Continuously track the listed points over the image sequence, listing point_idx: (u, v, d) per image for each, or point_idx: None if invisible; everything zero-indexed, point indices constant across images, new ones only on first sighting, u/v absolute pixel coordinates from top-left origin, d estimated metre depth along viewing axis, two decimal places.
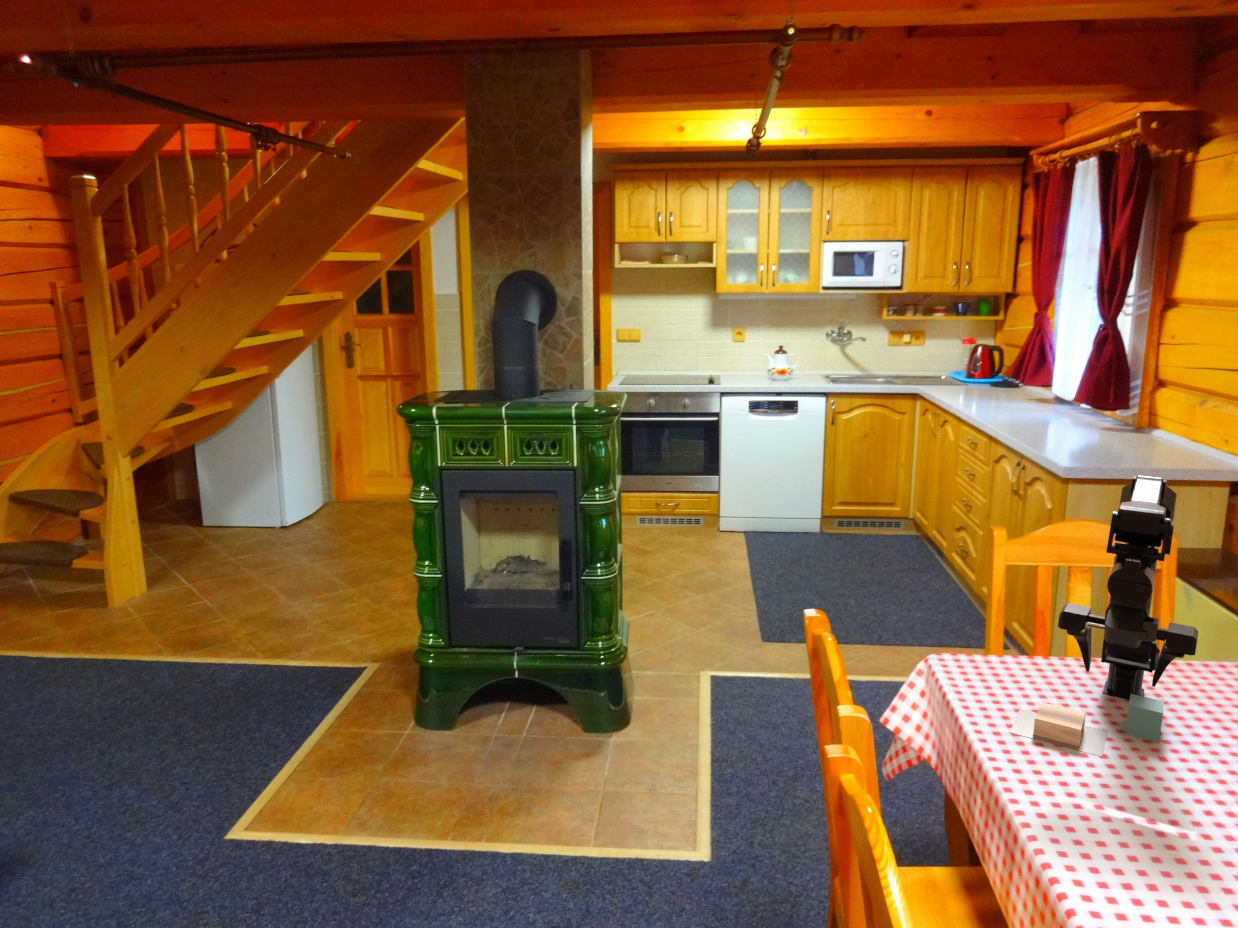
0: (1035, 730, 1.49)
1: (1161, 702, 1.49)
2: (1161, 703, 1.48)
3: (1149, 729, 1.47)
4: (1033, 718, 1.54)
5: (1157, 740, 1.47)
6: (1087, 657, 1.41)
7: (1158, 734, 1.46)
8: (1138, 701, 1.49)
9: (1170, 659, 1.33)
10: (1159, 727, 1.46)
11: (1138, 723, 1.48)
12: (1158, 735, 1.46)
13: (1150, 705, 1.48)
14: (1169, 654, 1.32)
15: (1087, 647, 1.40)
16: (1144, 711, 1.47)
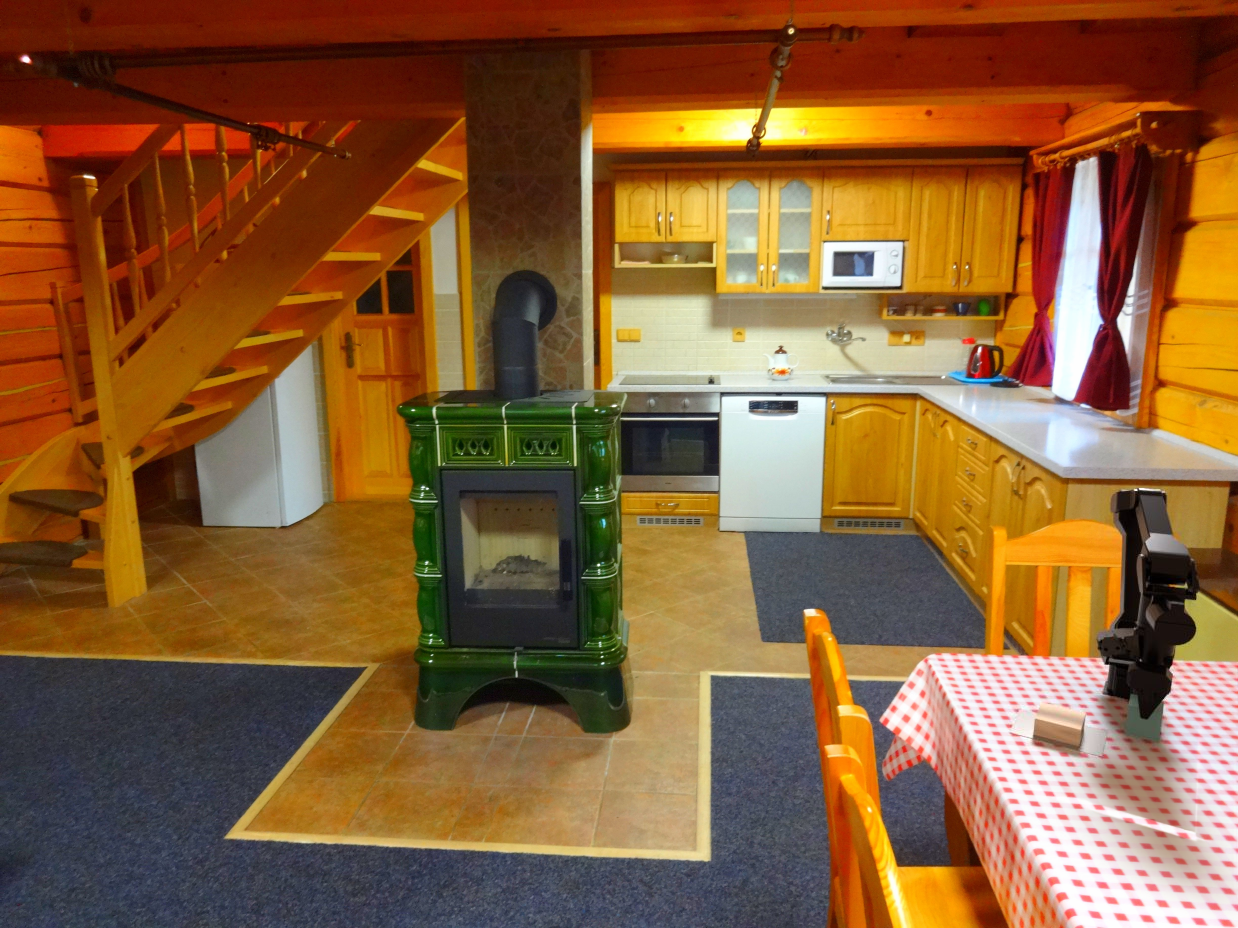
0: (1035, 730, 1.49)
1: (1161, 702, 1.49)
2: (1161, 703, 1.48)
3: (1149, 729, 1.47)
4: (1033, 718, 1.54)
5: (1157, 740, 1.47)
6: None
7: (1158, 734, 1.46)
8: None
9: (1134, 689, 1.44)
10: (1159, 727, 1.46)
11: (1138, 723, 1.48)
12: (1158, 735, 1.46)
13: None
14: None
15: None
16: None
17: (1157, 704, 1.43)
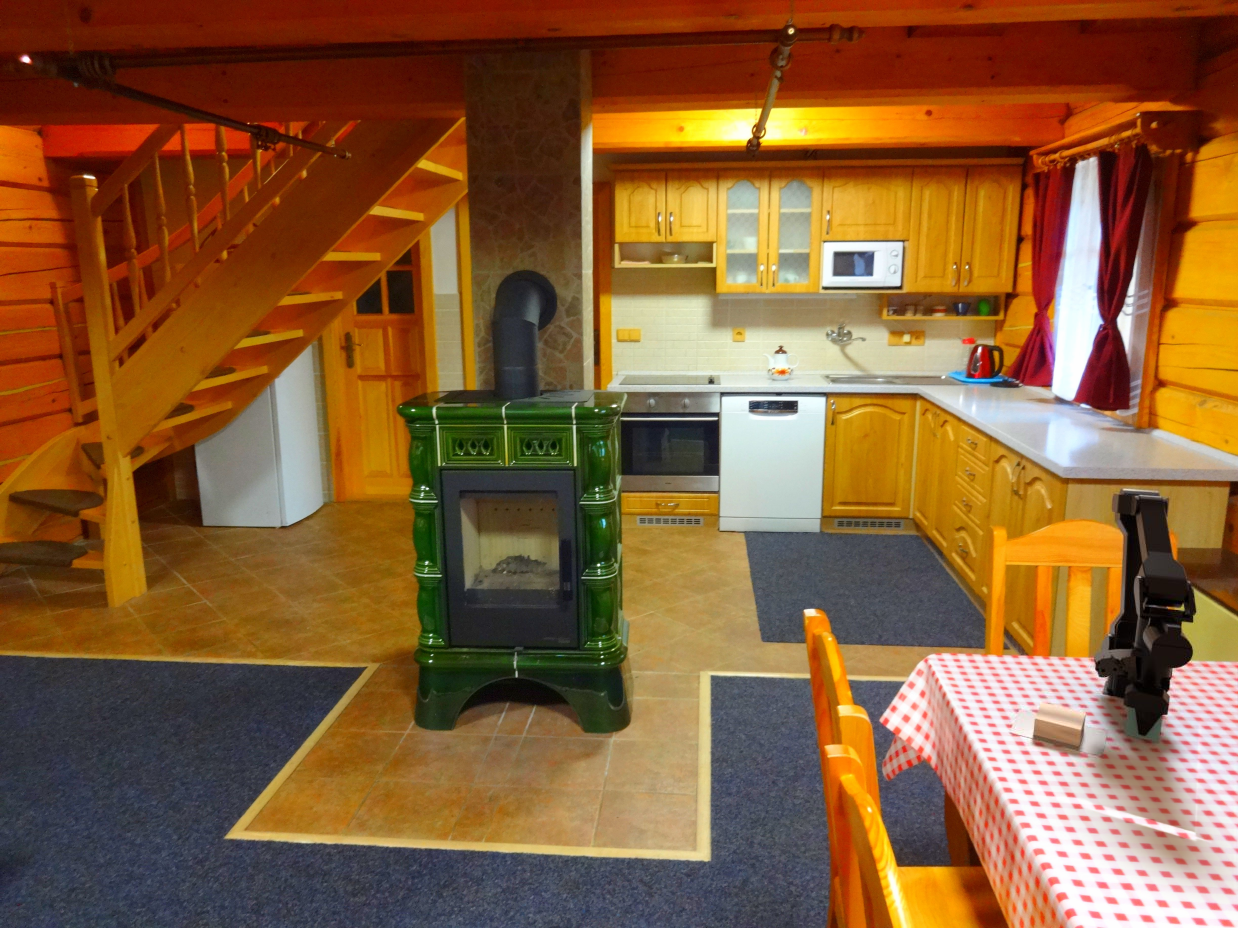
0: (1035, 730, 1.49)
1: None
2: None
3: None
4: (1033, 718, 1.54)
5: (1157, 740, 1.47)
6: None
7: (1158, 734, 1.46)
8: None
9: None
10: (1159, 727, 1.46)
11: None
12: (1158, 735, 1.46)
13: None
14: None
15: None
16: None
17: (1155, 721, 1.45)
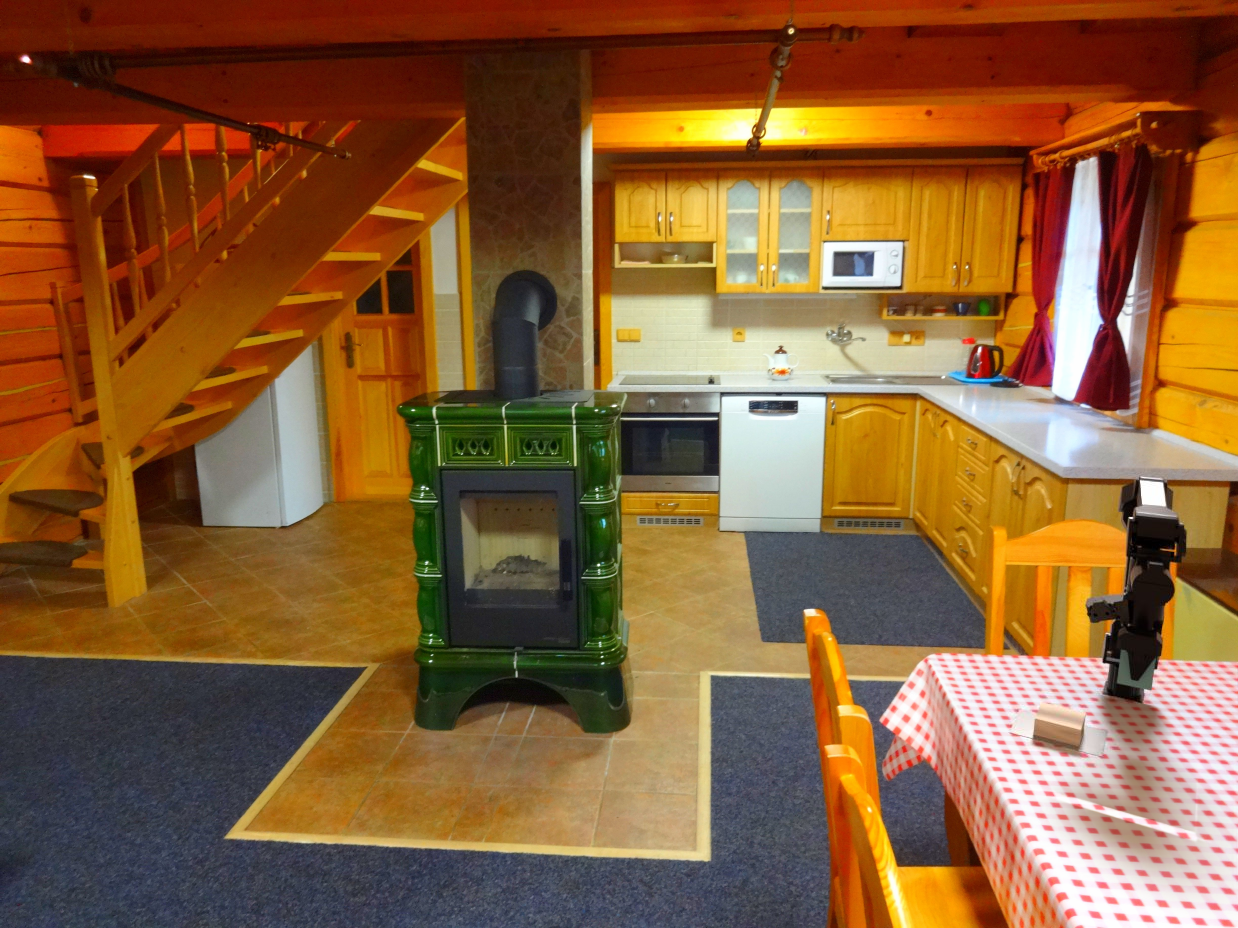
0: (1035, 730, 1.49)
1: None
2: None
3: None
4: (1033, 718, 1.54)
5: (1150, 684, 1.44)
6: None
7: (1151, 678, 1.44)
8: None
9: (1125, 650, 1.44)
10: (1152, 671, 1.44)
11: None
12: (1151, 679, 1.44)
13: None
14: None
15: None
16: None
17: (1148, 665, 1.43)
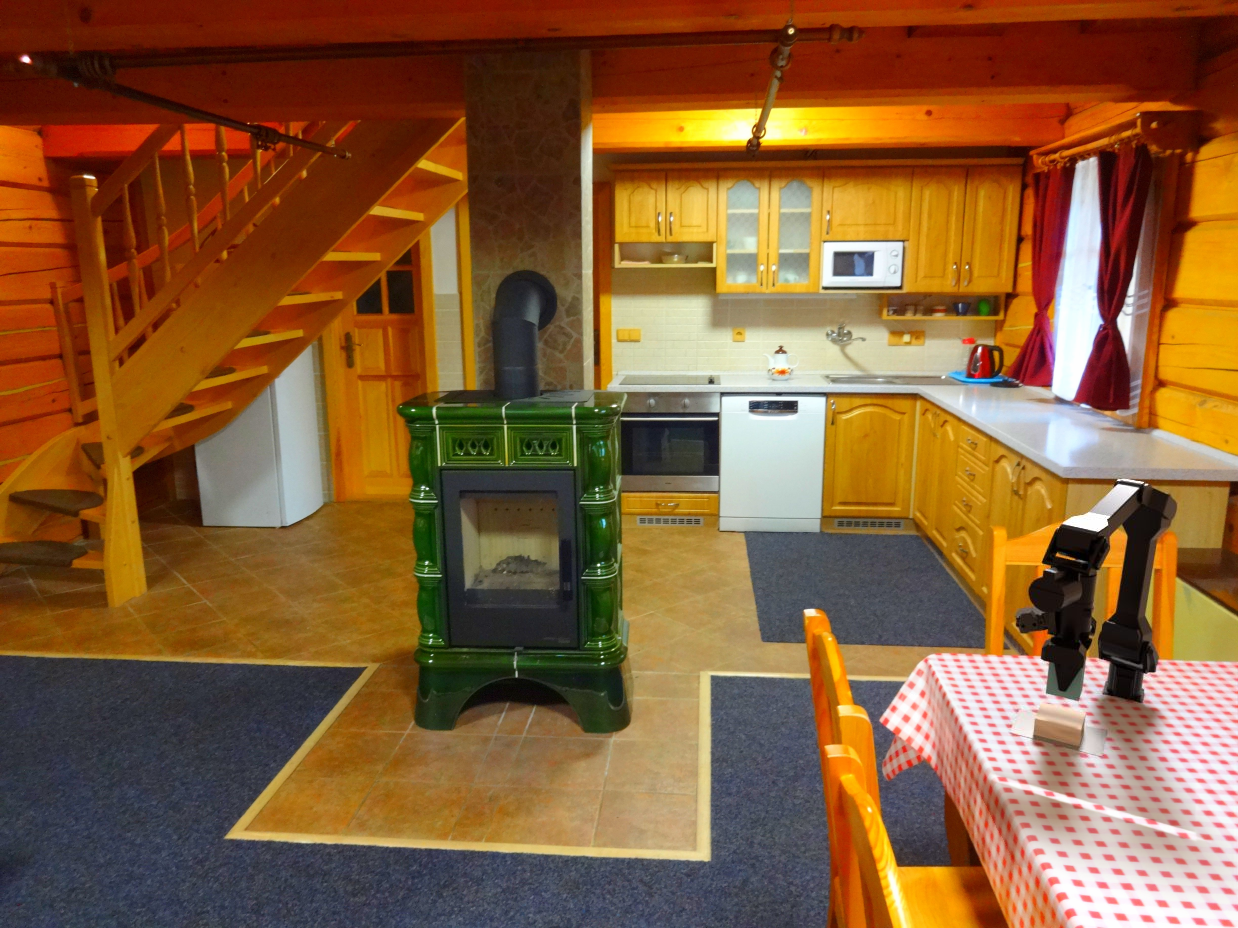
0: (1035, 730, 1.49)
1: None
2: None
3: (1070, 685, 1.45)
4: (1033, 718, 1.54)
5: (1077, 695, 1.45)
6: None
7: (1078, 689, 1.45)
8: None
9: None
10: (1079, 682, 1.44)
11: None
12: (1078, 690, 1.45)
13: None
14: None
15: None
16: None
17: (1074, 676, 1.43)
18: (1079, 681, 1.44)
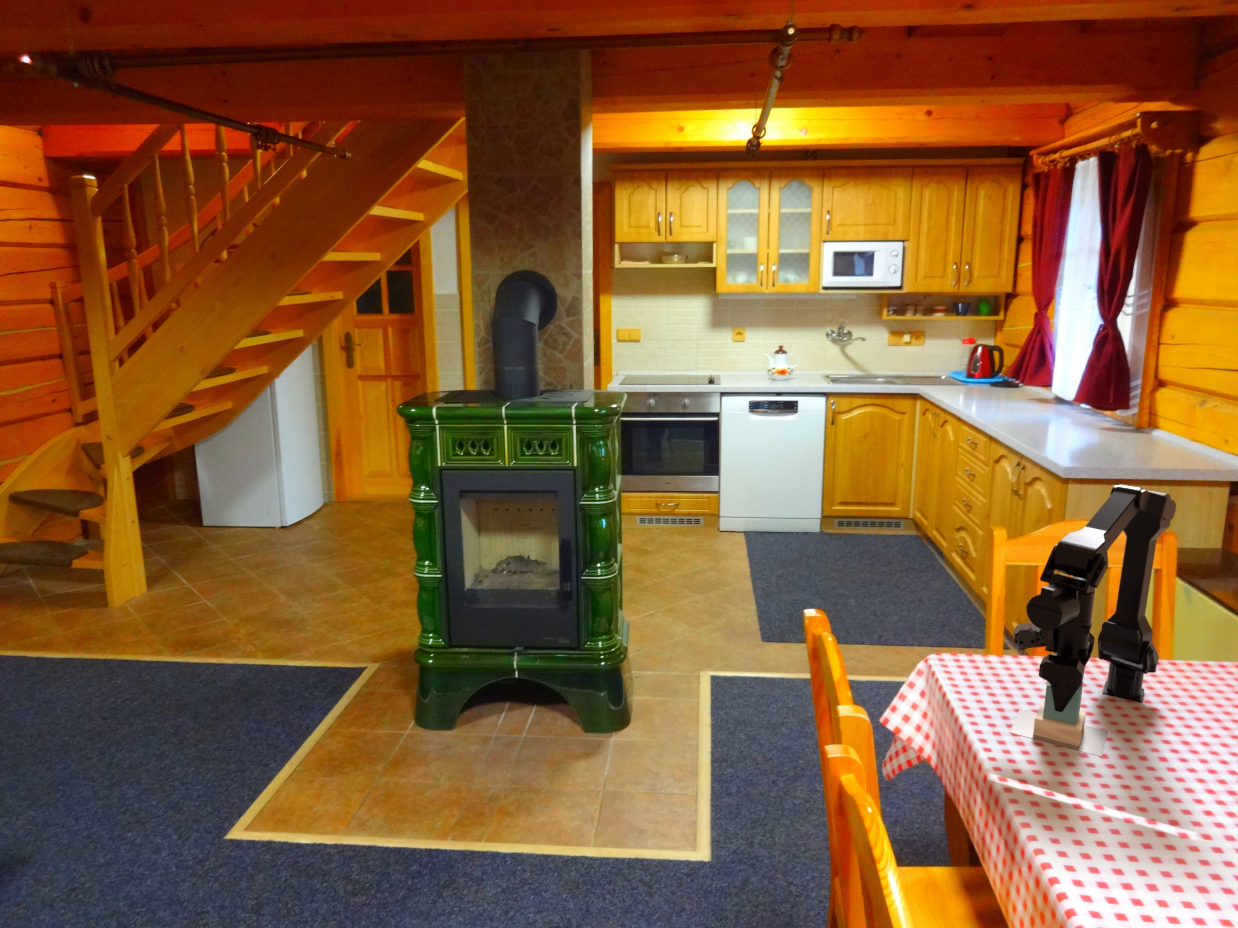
0: (1035, 730, 1.49)
1: None
2: None
3: (1067, 709, 1.46)
4: (1033, 718, 1.54)
5: (1074, 720, 1.46)
6: None
7: (1075, 714, 1.46)
8: None
9: (1048, 681, 1.44)
10: (1076, 707, 1.45)
11: None
12: (1075, 715, 1.46)
13: None
14: None
15: None
16: None
17: (1070, 696, 1.43)
18: (1076, 706, 1.45)
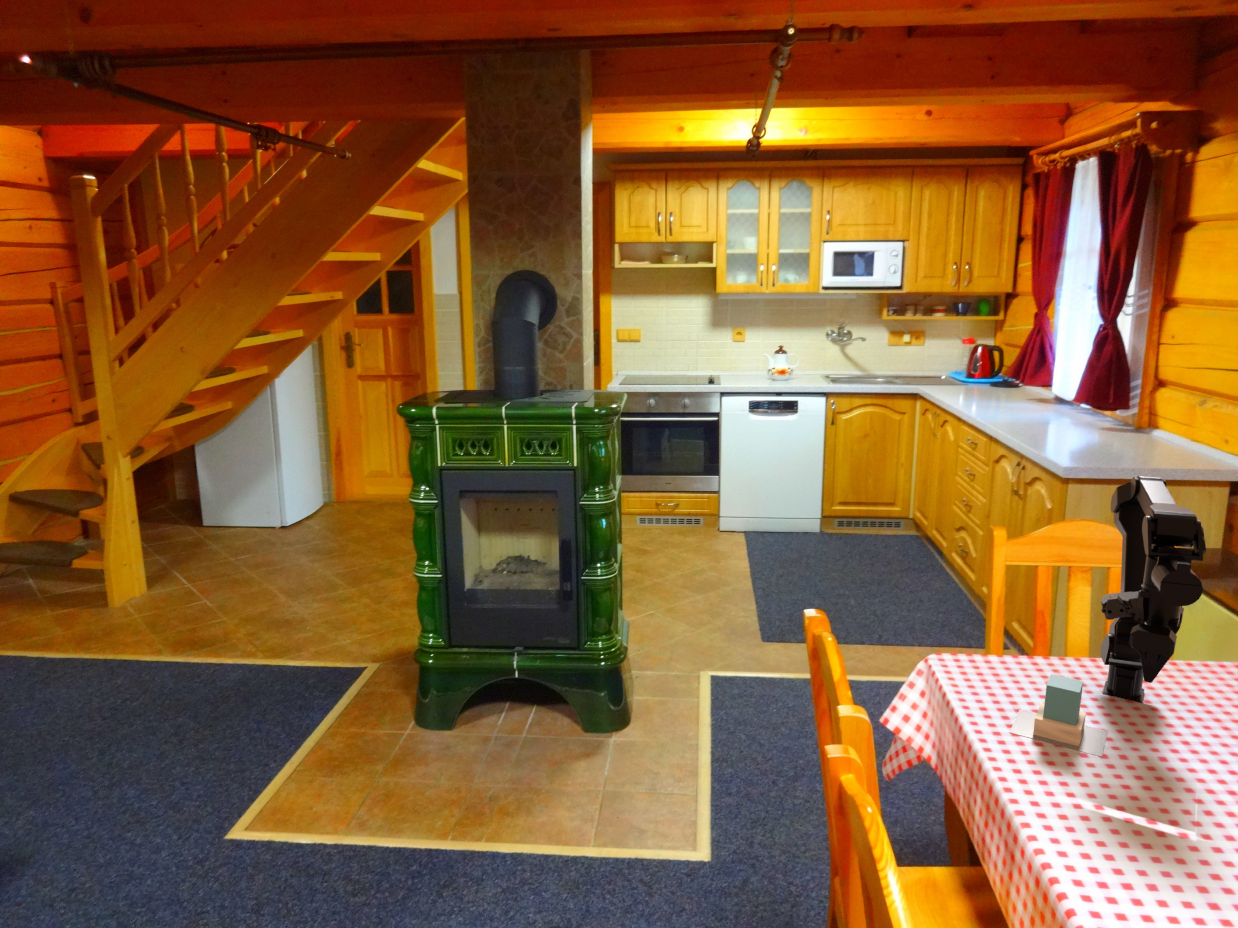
0: (1035, 730, 1.49)
1: (1080, 682, 1.48)
2: (1080, 683, 1.48)
3: (1067, 709, 1.46)
4: (1033, 718, 1.54)
5: (1074, 720, 1.46)
6: None
7: (1075, 714, 1.46)
8: (1057, 681, 1.49)
9: (1138, 651, 1.42)
10: (1076, 707, 1.45)
11: (1056, 703, 1.47)
12: (1075, 715, 1.46)
13: (1069, 685, 1.47)
14: None
15: None
16: (1061, 691, 1.46)
17: (1161, 667, 1.41)
18: (1076, 706, 1.45)
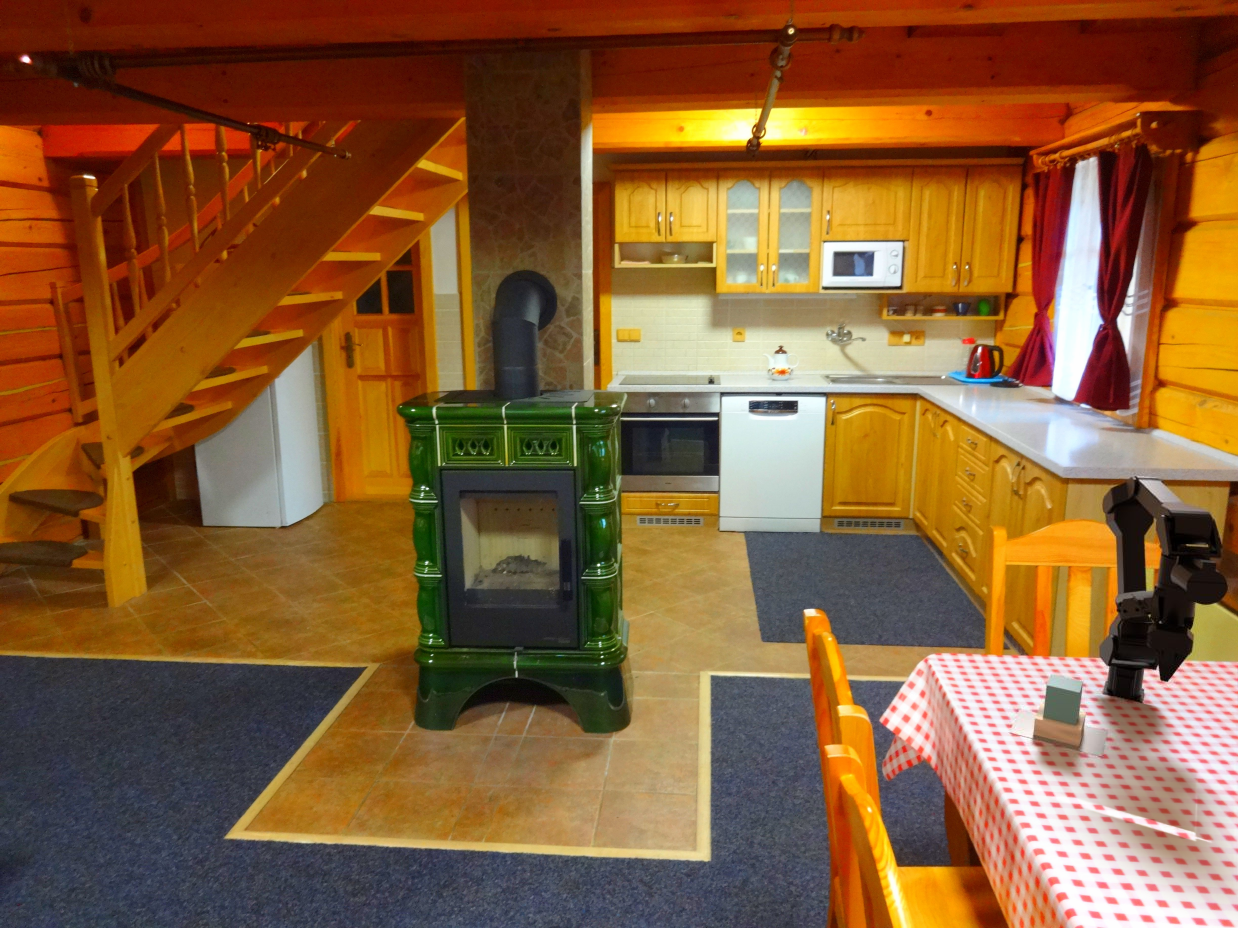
0: (1035, 730, 1.49)
1: (1080, 682, 1.48)
2: (1080, 683, 1.48)
3: (1067, 709, 1.46)
4: (1033, 718, 1.54)
5: (1074, 720, 1.46)
6: None
7: (1075, 714, 1.46)
8: (1057, 681, 1.49)
9: (1155, 650, 1.42)
10: (1076, 707, 1.45)
11: (1056, 703, 1.47)
12: (1075, 715, 1.46)
13: (1069, 685, 1.47)
14: None
15: None
16: (1061, 691, 1.46)
17: (1178, 665, 1.41)
18: (1076, 706, 1.45)
